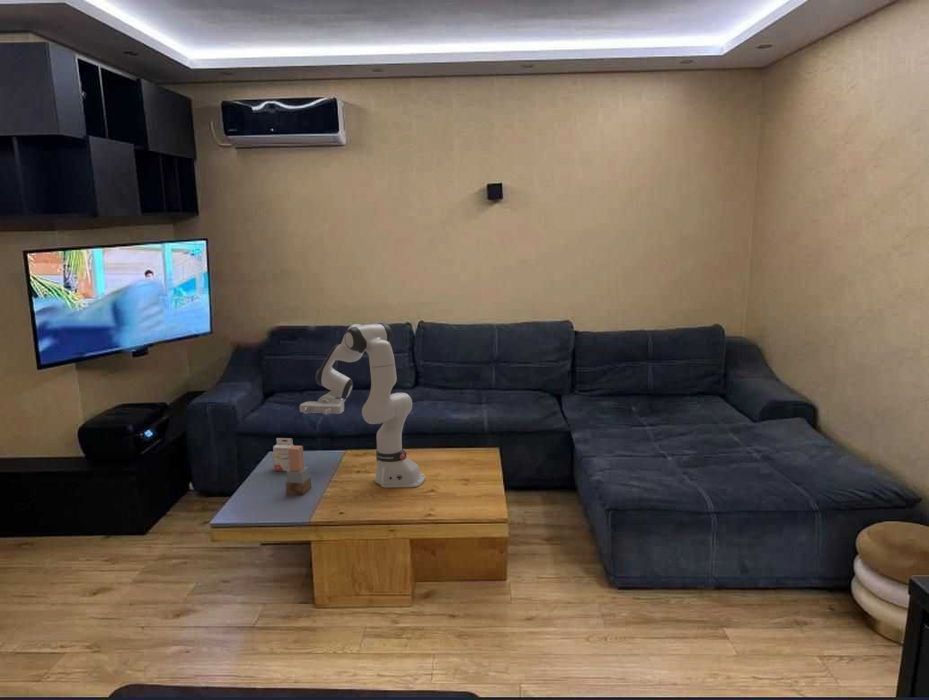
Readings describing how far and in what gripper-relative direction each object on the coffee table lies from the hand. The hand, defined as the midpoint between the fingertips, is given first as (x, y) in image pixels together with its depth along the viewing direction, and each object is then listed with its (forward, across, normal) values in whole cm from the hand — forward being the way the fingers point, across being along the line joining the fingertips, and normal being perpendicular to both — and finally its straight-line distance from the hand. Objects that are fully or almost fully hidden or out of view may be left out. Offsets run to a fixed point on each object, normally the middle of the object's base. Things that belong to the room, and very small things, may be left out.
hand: (314, 412), depth 305 cm
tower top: (+21, 0, +24) cm, 32 cm away
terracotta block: (+21, 0, +19) cm, 29 cm away
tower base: (+21, 0, +29) cm, 36 cm away
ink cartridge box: (-2, -18, +29) cm, 35 cm away
